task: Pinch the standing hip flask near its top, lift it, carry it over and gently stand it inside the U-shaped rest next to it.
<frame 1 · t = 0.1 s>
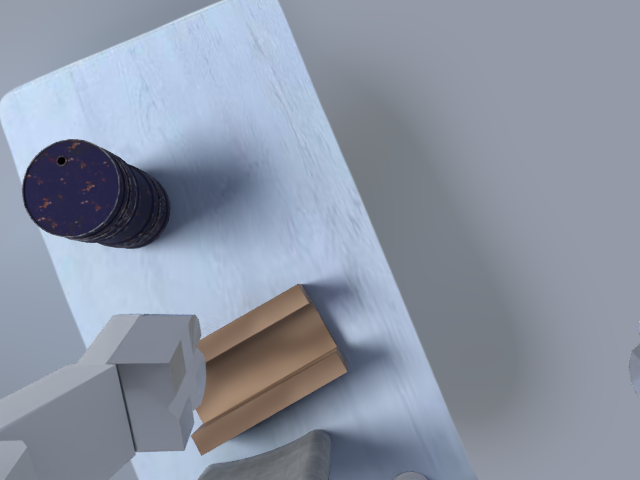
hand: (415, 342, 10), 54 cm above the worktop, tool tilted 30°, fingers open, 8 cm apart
hip flask: (268, 463, 63), on the worktop
u rest: (259, 360, 64), on the worktop
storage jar: (132, 210, 66), on the worktop
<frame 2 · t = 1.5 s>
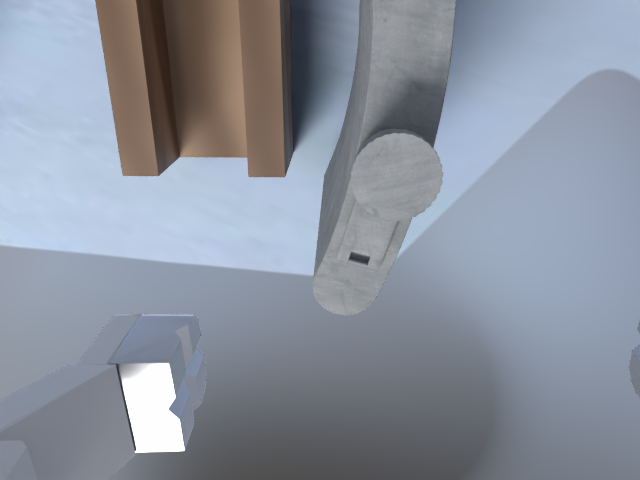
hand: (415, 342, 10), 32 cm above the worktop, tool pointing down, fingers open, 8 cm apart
hip flask: (367, 99, 39), on the worktop
u rest: (214, 26, 37), on the worktop
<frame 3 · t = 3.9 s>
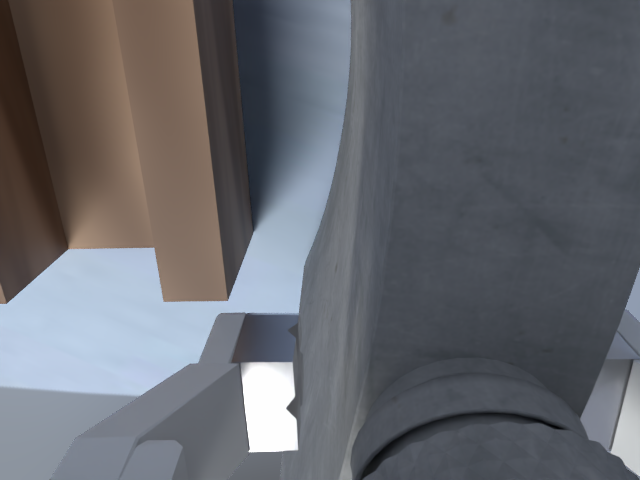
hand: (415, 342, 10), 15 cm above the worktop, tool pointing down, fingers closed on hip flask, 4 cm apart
hip flask: (369, 147, 24), on the worktop, touching gripper
u rest: (107, 37, 22), on the worktop
when the fingers open (25 cm above the worktop, at t = 8.5 s): hip flask stays where it is, resting on u rest.
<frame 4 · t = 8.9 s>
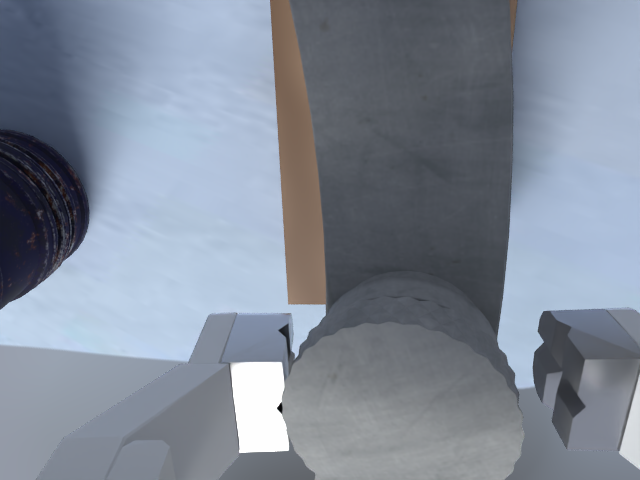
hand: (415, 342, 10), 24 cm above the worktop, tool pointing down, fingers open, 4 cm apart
hip flask: (429, 138, 26), point 6 cm above the worktop, touching gripper, u rest
u rest: (382, 118, 32), on the worktop
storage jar: (19, 200, 35), on the worktop
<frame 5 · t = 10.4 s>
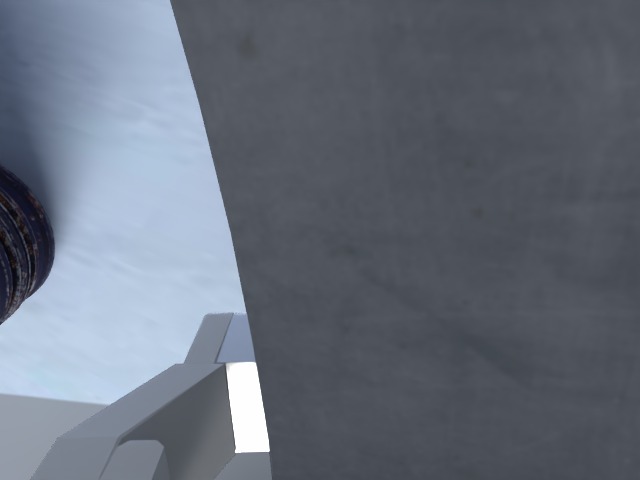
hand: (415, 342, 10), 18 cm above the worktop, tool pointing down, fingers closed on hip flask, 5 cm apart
hip flask: (455, 168, 21), point 6 cm above the worktop, touching gripper, u rest
when the fingers open (18 cm above the worktop, at t = 10.4 s): hip flask drops 4 cm, resting on u rest.
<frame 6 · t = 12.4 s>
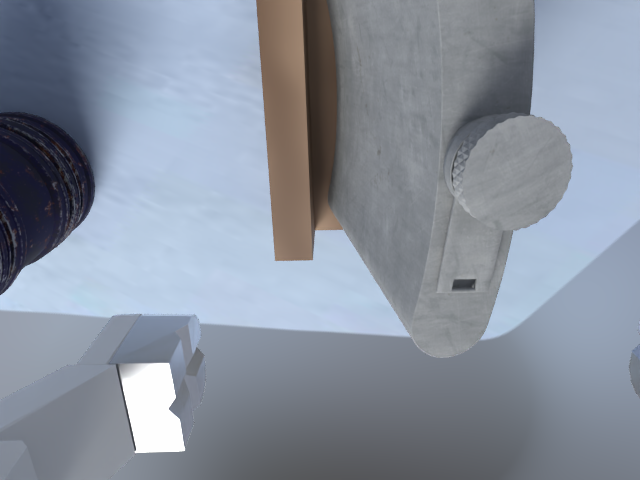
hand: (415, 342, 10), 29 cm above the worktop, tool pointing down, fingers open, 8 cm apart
hip flask: (356, 101, 34), point 2 cm above the worktop, touching u rest
u rest: (354, 99, 36), on the worktop
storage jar: (30, 177, 39), on the worktop
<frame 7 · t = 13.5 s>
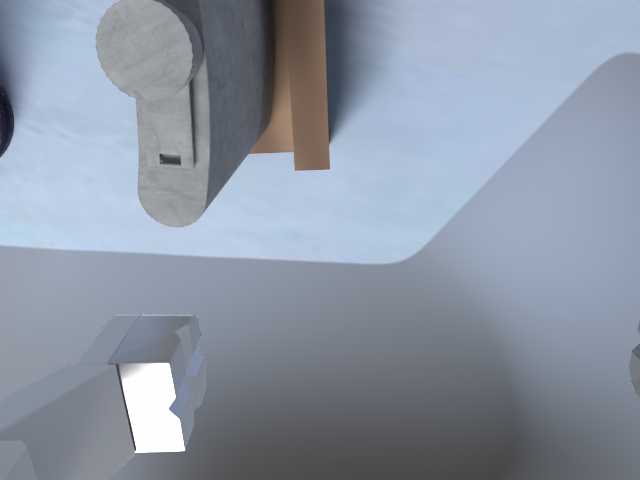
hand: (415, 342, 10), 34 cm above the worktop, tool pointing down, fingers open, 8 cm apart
hip flask: (248, 26, 37), point 1 cm above the worktop, touching u rest
u rest: (250, 27, 39), on the worktop
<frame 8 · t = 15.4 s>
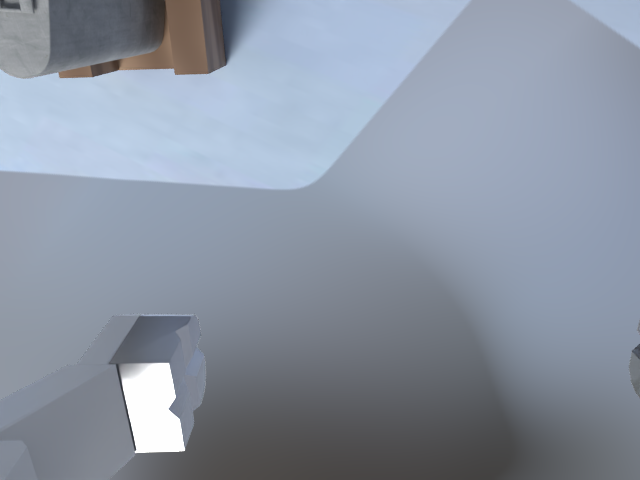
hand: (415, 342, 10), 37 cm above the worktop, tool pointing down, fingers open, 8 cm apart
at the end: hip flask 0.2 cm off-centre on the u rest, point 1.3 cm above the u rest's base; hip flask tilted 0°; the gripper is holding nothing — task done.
